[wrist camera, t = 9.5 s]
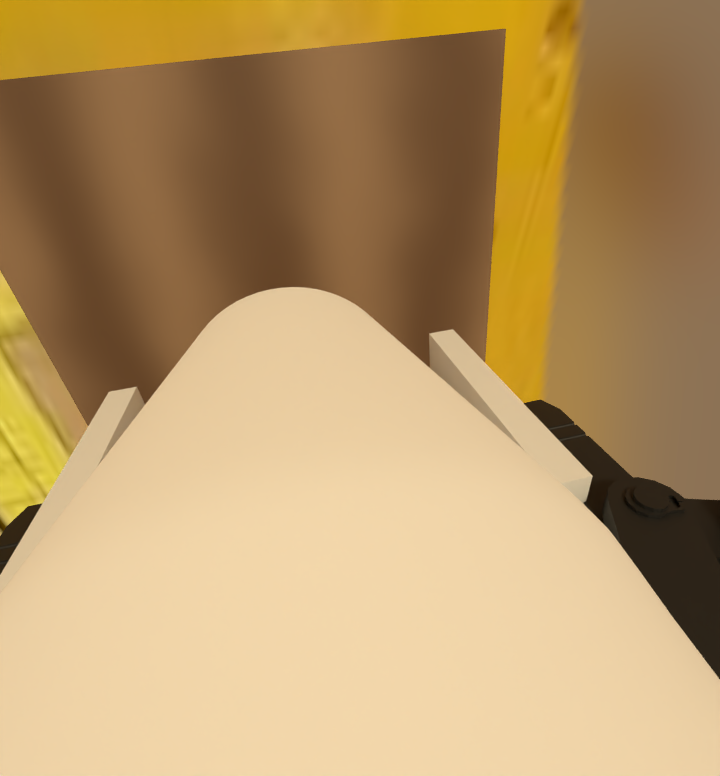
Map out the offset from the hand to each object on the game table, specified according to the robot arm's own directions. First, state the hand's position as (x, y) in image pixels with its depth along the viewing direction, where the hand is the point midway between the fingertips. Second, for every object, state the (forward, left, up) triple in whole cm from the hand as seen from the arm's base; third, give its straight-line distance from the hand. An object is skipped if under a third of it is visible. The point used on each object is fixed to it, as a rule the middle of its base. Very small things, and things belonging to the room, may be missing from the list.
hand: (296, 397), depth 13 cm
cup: (0, 0, -1) cm, 1 cm away
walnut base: (0, 0, -9) cm, 9 cm away
